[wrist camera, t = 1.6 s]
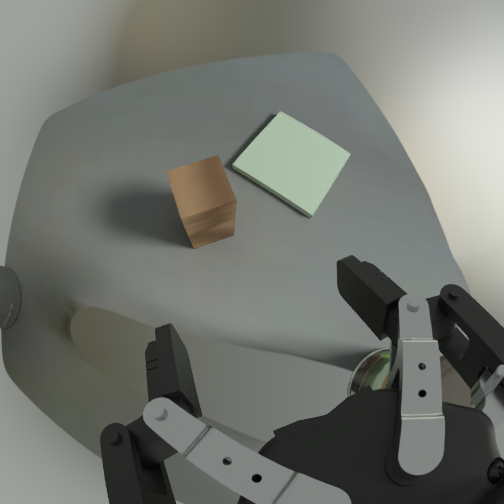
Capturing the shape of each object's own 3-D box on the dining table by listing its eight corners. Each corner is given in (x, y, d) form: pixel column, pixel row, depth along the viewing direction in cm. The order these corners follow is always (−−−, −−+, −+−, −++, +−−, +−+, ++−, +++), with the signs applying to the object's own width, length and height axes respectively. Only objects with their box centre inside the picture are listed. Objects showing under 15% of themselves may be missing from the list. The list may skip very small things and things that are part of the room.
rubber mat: (232, 168, 36) (232, 164, 35) (279, 115, 39) (280, 111, 38) (310, 218, 35) (312, 215, 34) (348, 157, 38) (350, 154, 37)
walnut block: (194, 249, 33) (180, 219, 24) (182, 212, 34) (166, 171, 24) (233, 235, 34) (236, 200, 24) (220, 199, 35) (218, 155, 25)
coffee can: (350, 349, 32) (419, 359, 18) (415, 346, 32) (490, 348, 19) (341, 426, 29) (398, 471, 15) (406, 416, 30) (474, 442, 16)
